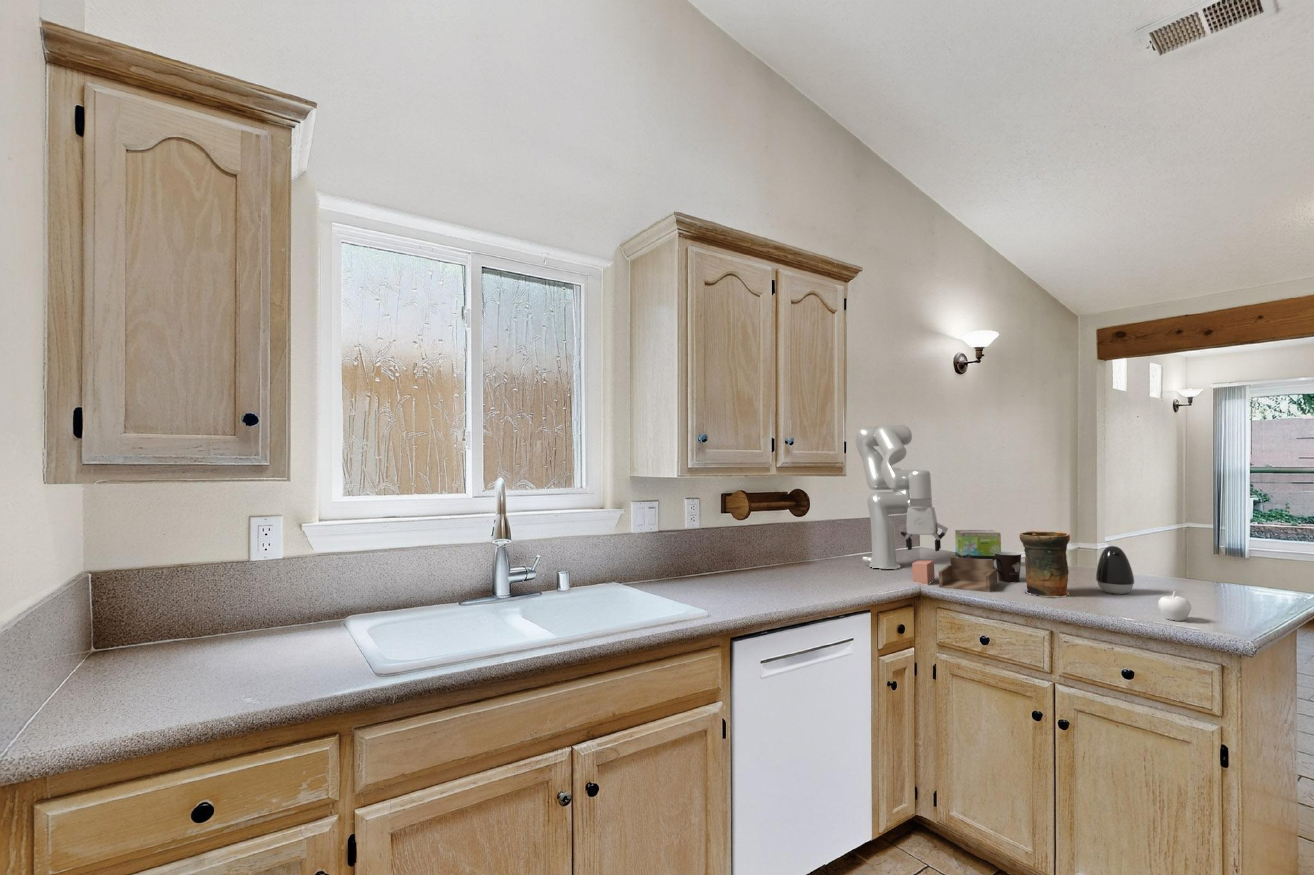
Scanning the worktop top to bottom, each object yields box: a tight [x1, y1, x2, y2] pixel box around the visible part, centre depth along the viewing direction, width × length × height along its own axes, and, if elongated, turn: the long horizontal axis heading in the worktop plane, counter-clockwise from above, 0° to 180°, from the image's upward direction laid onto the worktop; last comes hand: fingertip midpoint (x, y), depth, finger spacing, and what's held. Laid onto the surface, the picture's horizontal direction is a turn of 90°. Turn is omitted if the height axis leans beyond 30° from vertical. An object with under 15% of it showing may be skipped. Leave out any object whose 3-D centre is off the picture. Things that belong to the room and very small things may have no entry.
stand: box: [938, 557, 999, 593], centre depth 224 cm, size 16×15×9 cm
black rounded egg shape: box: [1095, 545, 1135, 595], centre depth 208 cm, size 10×10×15 cm
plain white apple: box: [1157, 590, 1192, 622], centre depth 173 cm, size 7×7×8 cm
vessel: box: [1019, 530, 1071, 598], centre depth 209 cm, size 14×14×20 cm
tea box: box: [954, 529, 1002, 569], centre depth 263 cm, size 15×10×15 cm
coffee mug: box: [992, 551, 1022, 583], centre depth 232 cm, size 12×9×10 cm
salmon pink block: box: [911, 559, 936, 585], centre depth 234 cm, size 5×10×8 cm, turn 143°
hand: (923, 550), depth 233 cm, fingers open, 9 cm apart
